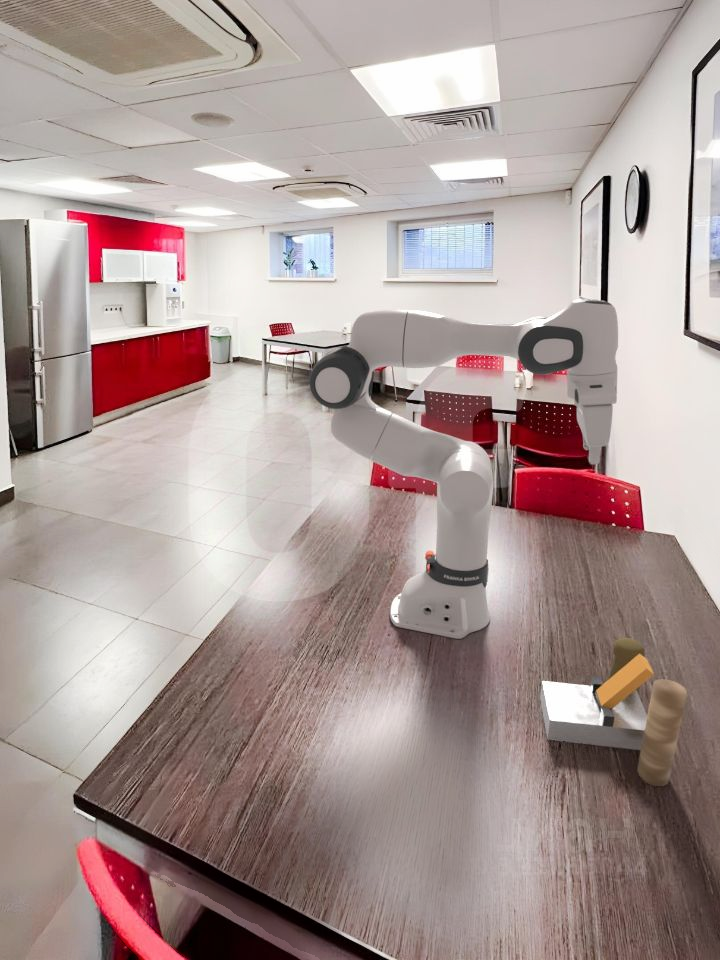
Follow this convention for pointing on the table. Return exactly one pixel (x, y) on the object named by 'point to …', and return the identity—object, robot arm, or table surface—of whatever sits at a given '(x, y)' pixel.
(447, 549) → the robot arm
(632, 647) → the olive knobbed post
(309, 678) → the table surface
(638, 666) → the lever
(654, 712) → the oak post
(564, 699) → the breaker box
